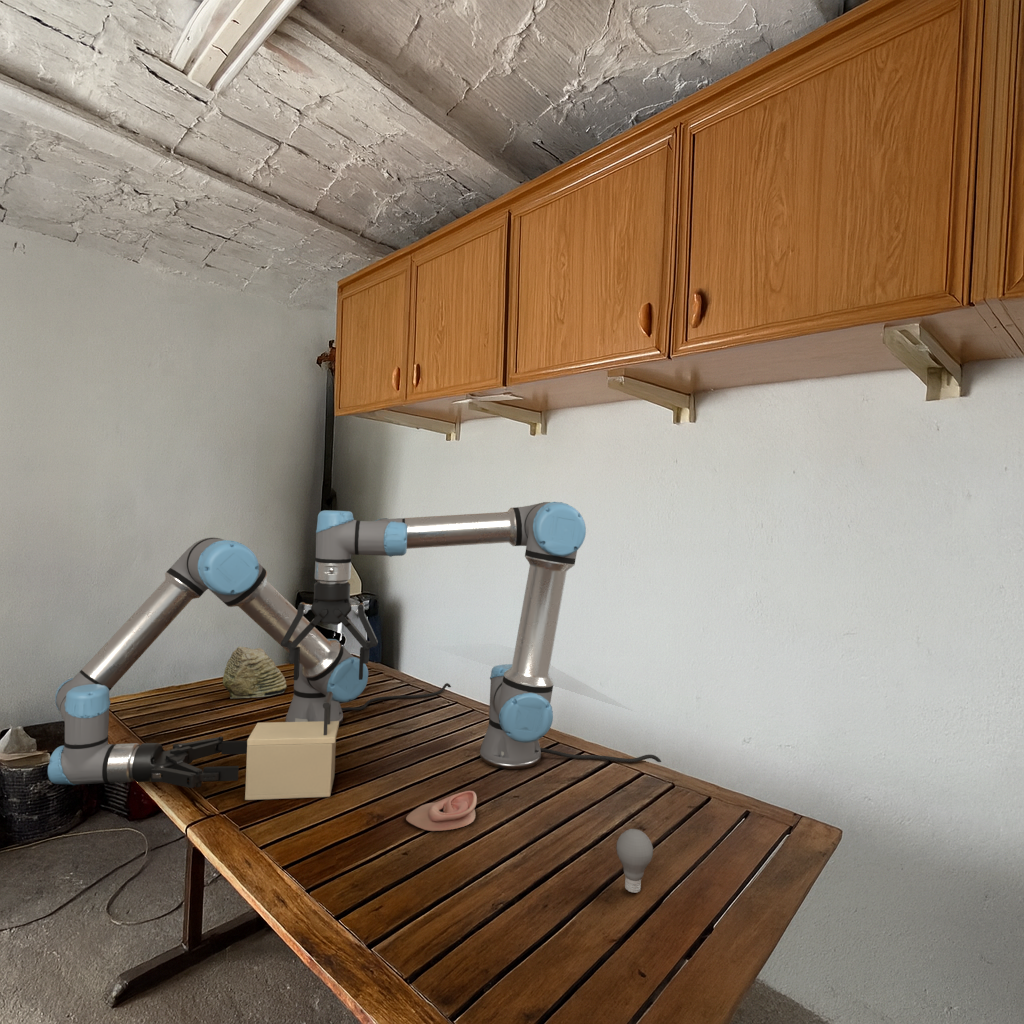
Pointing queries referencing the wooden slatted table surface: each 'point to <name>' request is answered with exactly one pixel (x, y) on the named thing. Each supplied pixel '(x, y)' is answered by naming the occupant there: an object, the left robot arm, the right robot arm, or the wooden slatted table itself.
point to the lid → (297, 730)
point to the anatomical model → (445, 813)
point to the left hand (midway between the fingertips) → (246, 759)
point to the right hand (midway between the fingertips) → (328, 678)
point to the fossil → (252, 674)
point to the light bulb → (634, 857)
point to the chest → (289, 771)
